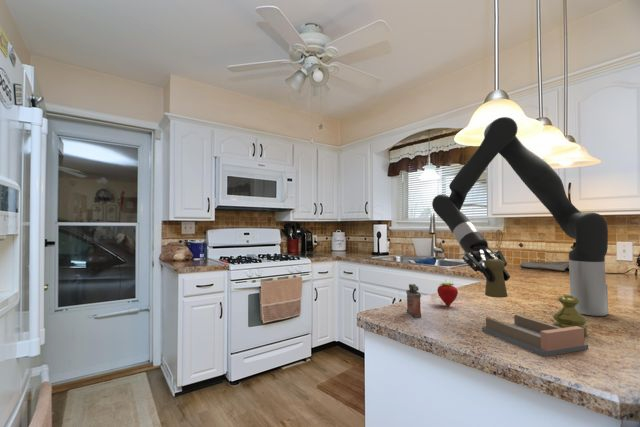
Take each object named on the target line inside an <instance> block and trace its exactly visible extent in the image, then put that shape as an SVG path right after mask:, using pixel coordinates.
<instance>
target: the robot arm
mask: <svg viewBox="0 0 640 427" xmlns="http://www.w3.org/2000/svg"><path fill="white" fill-rule="evenodd" d="M492 121H493V122H492ZM492 121H491V122H490V123H489V124H488V125H487V126H486V127H485V128H484V132H483V136H484V137H483V140H482V142H481V143H480V145H479V146H478V148H477V150H475V152H474V153H473V154H472V156H471V157H470V158H469V159H468V160H467V161H466V162H465V164H463V166H462V167H461V168H460V170H459V171H458V172H457V174H455V176H454V178H453V179H452V180H451V181H450V183H449V185H448V186H449V190H450V191H451V192H450V195H446V194H441V193H440V194H437V195H436V196H434V198H433V199H432V202H431V203H432V204H431V205H432V210H433V211H434V212H435V214H436V215H437V216H438V217H439V218H440V219H441V220H442V221H443V222H444V223H445V224H446V226H447V227H448V229H449V230H450V232H451V233H452V234H453V236H454V239H455V240H456V241H457V243H458V245H459V246H460V247H461V249H462V250H463V252H464V255H463V257H462V259H463V261H464V262H465V263H466V264H467V265H468V266H469V267H470V268H471V270H473V271H474V272H475V273H476V272H479V273H481V274H482V275H483V276H484V278H485V280H486V279H487V280H488V281H489V282H493V281H494V280H495V276H494V275H493V274H492V272H491V271H490V270H489V268H488V269H487V266H486V260H488V259H499V260H502V261H503V262H504V269H503V275H504V280H505V282H507V281H509V279H510V278H511V275H510V274H509V272H508V270H506V268H505V267H507V266H508V262H507V261H506V259H505V256H504V255H503V252H502V251H501V250H499V249H498V250H497V251H493V249H491V248H490V247H489V243H488V241H487V239H486V238H485V237H484V236H483V234H482V233H481V232H480V231H479V229H478V228H477V226H475V225H474V224H473V223H472V222H471V220H470V219H469V218H468V217H467V216H466V214H464V213H463V212H462V211H461V209H462V207H463V204H464V203H465V201H466V197H467V195H468V193H470V191H471V190H472V189H473V187H474V186H475V184H476V183H477V181H478V180H479V179H480V177H481V175H482V174H483V173H484V172H485V170H486V169H487V167H488V166H489V165H490V163H491V162H492V161H493V160H494V158H496V156H498V154H499V155H500V156H501V157H503V159H504V160H505V161H506V162H507V163H508V164H509V166H510V167H511V169H512V170H513V171H514V172H515V174H516V175H517V176H518V178H520V180H521V181H522V182H523V184H524V185H526V187H527V188H528V189H529V191H530V192H531V193H532V194H533V195H534V196H536V198H537V199H538V200H539V202H541V204H542V205H543V206H544V207H545V208H546V209H547V210H548V211H549V213H550V214H551V216H552V217H553V218H554V220H555V221H556V223H557V224H558V226H559V227H560V228H561V230H562V231H563V232H564V234H566V236H568V237H569V238H571V239H574V240H575V246H574V247H573V249H572V250H570V251H569V252H568V270H569V271H568V272H569V292H570V293H569V295H571V296H573V297H575V298H577V299H579V300H580V303H579V304H577V305H576V306H575V309H576V310H577V311H578V312H580V314H581V315H584V316H585V315H586V316H594V317H595V316H597V317H604V316H607V315H608V314H609V296H608V295H609V294H608V293H609V292H608V285H607V283H606V282H607V281H606V279H607V278H606V263H605V260H606V255H607V254H608V249H609V248H608V247H609V246H608V244H609V243H608V241H609V239H608V238H609V228H608V223H607V221H606V219H605V218H604V216H602V215H601V214H599V213H596V212H582V211H580V210H579V209H578V208H576V206H575V205H574V204H573V203H572V202H571V201H570V200H569V198H568V196H567V193H566V189H565V186H564V183H563V181H562V179H561V177H560V176H559V174H558V173H557V172H556V171H555V169H554V168H553V167H552V166H551V165H550V164H549V163H548V162H547V161H546V160H544V159H543V158H541V157H540V156H539V155H537V154H535V153H534V152H532V150H530V149H529V148H527V147H526V146H525V145H524V144H523V143H522V142H521V140H520V139H519V138H518V136H517V133H518V124H517V122H516V120H514V119H513V118H512V117H509V116H508V117H507V116H502V117H498V118H495V119H494V120H492Z"/></svg>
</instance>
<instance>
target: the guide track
mask: <svg viewBox="0 0 640 427" xmlns="http://www.w3.org/2000/svg"><path fill="white" fill-rule="evenodd" d="M513 316H514V323H505V322H502V321H499V320H497V319H494V318H491V317H485V326H484V327H483V326H482V328H481V329H482V330H481V331H482V332H484V333H486V334H488V335H490V336H493V337H496V338H498V339H500V340H503V341H505V342H508V343H509V344H513V345H515V346H518V347H520V348H522V349H525V350H527V351H530V352H532V353H534V354H537V355H539V356H542V357H549V356H554V355H562V354H565V353H572V352H579V351H584V350H589V347H590V346H589V344H588V343H585V336H584V328H581V327H578V326H574V327H567V328H561V327H557V326H554V325H553V324H550V323H548V322H547V323H546V322H544V321H540V320H538V319H534V318H531V317H528V316H524V315H521V314H514V315H513Z"/></svg>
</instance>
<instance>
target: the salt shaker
mask: <svg viewBox="0 0 640 427" xmlns="http://www.w3.org/2000/svg"><path fill="white" fill-rule="evenodd" d="M557 301H558V302H559V303H561V305H562V307H561V308H560V309H558V311H555V312H554V313H553V314H552V319H554V321H552V323H553V324H552V325H554V326H557V327H561V328H567V327H574V326H578V327H581V328H584V337H585V336H587V335H588V326H587V325H586V324H587V321H588V319H587V317H586V316H585V315H584V314H580V312H578V311H577V310H576V309H575V306H576V305H577V304H579V303H580V300H579V299H577V298H575V297H573V296H571V295H570V294H565V295H564V294H563V295H562V296H558V297H557Z"/></svg>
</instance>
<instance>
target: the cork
mask: <svg viewBox="0 0 640 427" xmlns="http://www.w3.org/2000/svg"><path fill="white" fill-rule="evenodd" d="M486 266H487V269H488V268H489V270H490V271H491V272H492V274H493V275H494V276H495V280H494V281H493V282H489V281H488V280H487V279H486V278H485V290H484V295H485V296H486V297H492V298H498V299H499V298H501V299H502V298H508V292H507V287H506V286H507V285H506V281H505V280H504V275H503V269H504V262H503V261H502V260H499V259H488V260H486Z"/></svg>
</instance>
